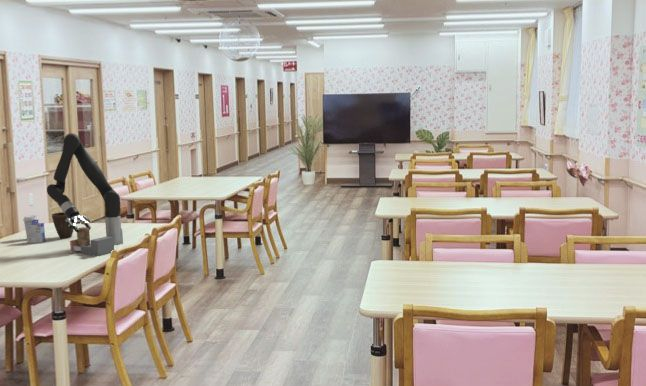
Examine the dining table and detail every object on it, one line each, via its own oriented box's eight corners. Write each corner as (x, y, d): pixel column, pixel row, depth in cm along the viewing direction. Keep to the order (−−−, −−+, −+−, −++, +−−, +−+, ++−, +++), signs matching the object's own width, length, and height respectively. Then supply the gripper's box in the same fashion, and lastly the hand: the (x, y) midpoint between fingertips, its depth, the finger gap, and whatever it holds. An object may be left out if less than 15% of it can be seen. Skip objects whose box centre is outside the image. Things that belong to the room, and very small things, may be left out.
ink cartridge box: (45, 241, 468) (44, 219, 466) (42, 243, 463) (40, 220, 461) (30, 241, 468) (28, 219, 466) (27, 243, 463) (25, 220, 461)
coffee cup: (34, 240, 472) (33, 217, 470) (21, 240, 474) (19, 217, 472) (43, 237, 481) (41, 215, 479) (30, 237, 483) (28, 215, 481)
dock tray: (70, 250, 432) (70, 240, 431) (85, 247, 442) (84, 237, 441) (82, 252, 427) (81, 242, 426) (96, 248, 436) (96, 238, 436)
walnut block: (84, 246, 437) (83, 227, 436) (90, 247, 435) (89, 227, 433) (77, 248, 433) (76, 228, 432) (83, 249, 431) (82, 229, 429)
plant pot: (64, 240, 469) (62, 216, 467) (48, 238, 477) (46, 214, 475) (82, 236, 482) (80, 212, 480) (66, 234, 489) (65, 211, 487)
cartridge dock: (81, 253, 427) (80, 238, 426) (96, 249, 437) (96, 235, 436) (98, 256, 419) (97, 240, 418) (114, 252, 430) (113, 237, 428)
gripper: (62, 207, 429) (77, 228, 424) (81, 204, 441) (96, 224, 436) (57, 216, 432) (71, 236, 428) (76, 212, 444) (90, 232, 440)
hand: (84, 230), depth 432 cm, fingers open, 8 cm apart
